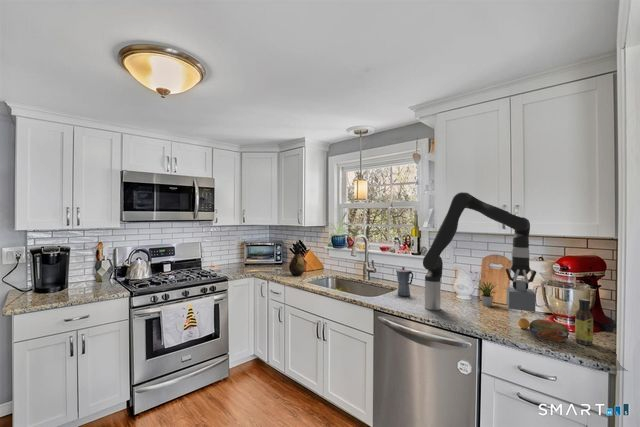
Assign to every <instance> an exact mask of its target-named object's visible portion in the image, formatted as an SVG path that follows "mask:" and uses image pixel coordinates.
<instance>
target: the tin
mask: <svg viewBox="0 0 640 427" xmlns="http://www.w3.org/2000/svg"><path fill="white" fill-rule="evenodd" d="M529 323H530V325H529V327H528V328H529V331H530V333H531V334H532V335H533V336H534V337H537V338H539V339H543V340H548V341H552V342H556V343H557V342H558V343H564V342H566V341H567V340H568V338H569V336H570V332H569V329H568V328H567V327H566V326H565V325H564V324H563V323H560V322H555V321H550V320H544V319H540V318H538V319H534V320H532V321H530V322H529Z"/></svg>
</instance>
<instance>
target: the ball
mask: <svg viewBox="0 0 640 427" xmlns="http://www.w3.org/2000/svg"><path fill="white" fill-rule="evenodd" d="M530 323H531V322H530V321H529V320H528V319H526V318H519V319H518V322H517V324H518V326H519V327H520V328H522V329H524V330H525V329H528V328H529V325H530Z"/></svg>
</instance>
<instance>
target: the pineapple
mask: <svg viewBox="0 0 640 427" xmlns="http://www.w3.org/2000/svg"><path fill="white" fill-rule="evenodd" d="M301 250H303V245H300V244H299V243H295V244H294V246H293V251H294V252H293V253H294V254H293V256H292V258H291V260H290V262H289V265H288V269H289V272H290V273H291V276H292V277H302V275H303V274H304V272H305V271H306V263H305V260H304V258H303V256H302V255H301V253H300V252H301Z"/></svg>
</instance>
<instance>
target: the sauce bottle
mask: <svg viewBox="0 0 640 427" xmlns="http://www.w3.org/2000/svg"><path fill="white" fill-rule="evenodd" d="M578 304H579V306H578V309H577V311H576V312H575V320H574V322H575V324H574V339H575V340H574V341H575V342H576V343H577V344H580V345H584V346H592V345H593V342H594V316H593V313H592V312H591V310H590V306H591V300H590V299H586V298H578Z"/></svg>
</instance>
